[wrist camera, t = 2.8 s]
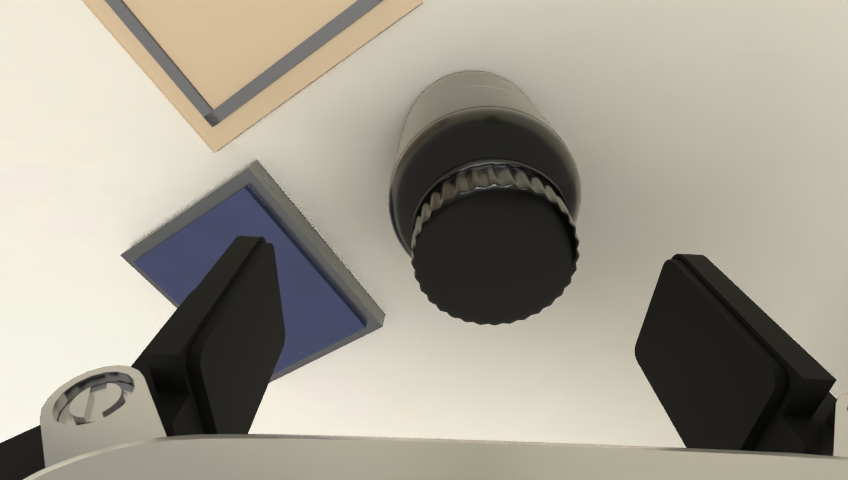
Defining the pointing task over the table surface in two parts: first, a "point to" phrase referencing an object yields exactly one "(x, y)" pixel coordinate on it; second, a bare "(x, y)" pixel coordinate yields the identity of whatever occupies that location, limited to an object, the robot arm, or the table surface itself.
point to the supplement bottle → (485, 200)
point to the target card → (240, 50)
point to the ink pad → (295, 259)
